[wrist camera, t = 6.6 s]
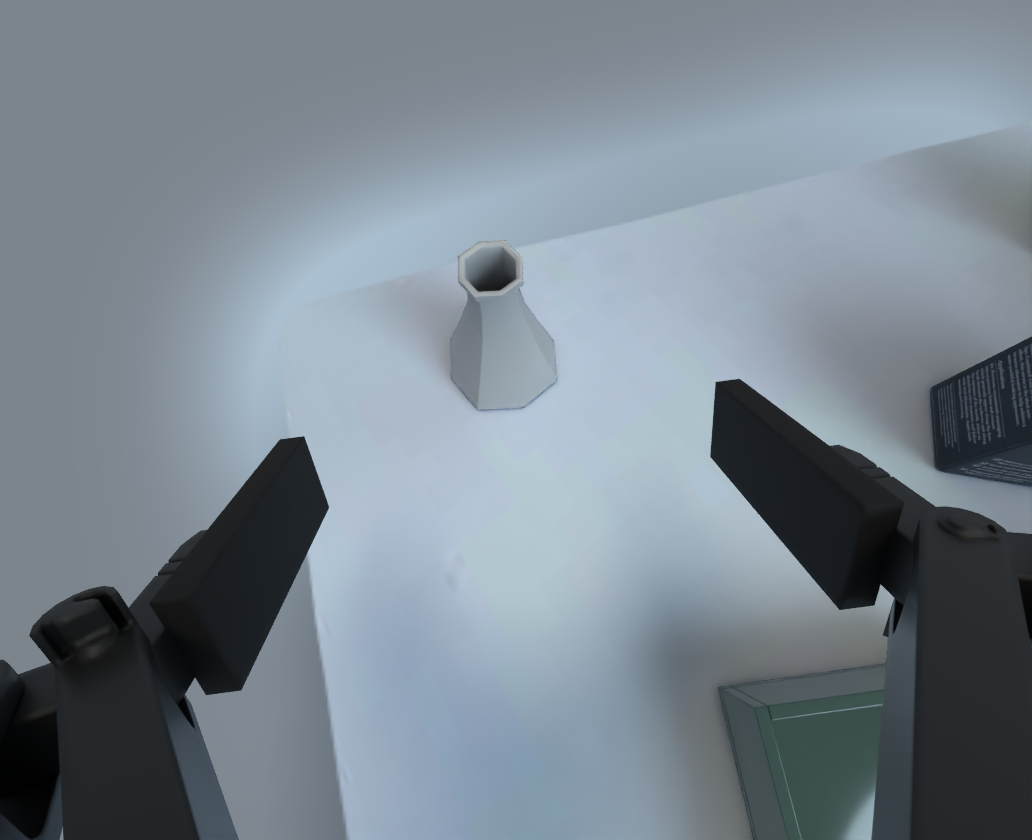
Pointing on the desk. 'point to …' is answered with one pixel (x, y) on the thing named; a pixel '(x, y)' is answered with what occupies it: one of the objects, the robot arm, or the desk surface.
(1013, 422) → the box
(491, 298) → the flask
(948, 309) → the desk surface
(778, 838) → the caddy
